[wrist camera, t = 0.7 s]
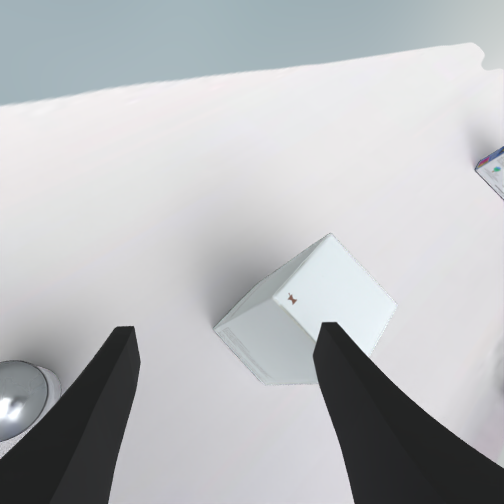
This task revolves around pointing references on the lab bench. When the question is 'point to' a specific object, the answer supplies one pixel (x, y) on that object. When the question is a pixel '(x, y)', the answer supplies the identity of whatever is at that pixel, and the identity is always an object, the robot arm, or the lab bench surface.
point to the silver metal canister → (25, 396)
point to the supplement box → (305, 313)
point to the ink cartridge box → (493, 170)
